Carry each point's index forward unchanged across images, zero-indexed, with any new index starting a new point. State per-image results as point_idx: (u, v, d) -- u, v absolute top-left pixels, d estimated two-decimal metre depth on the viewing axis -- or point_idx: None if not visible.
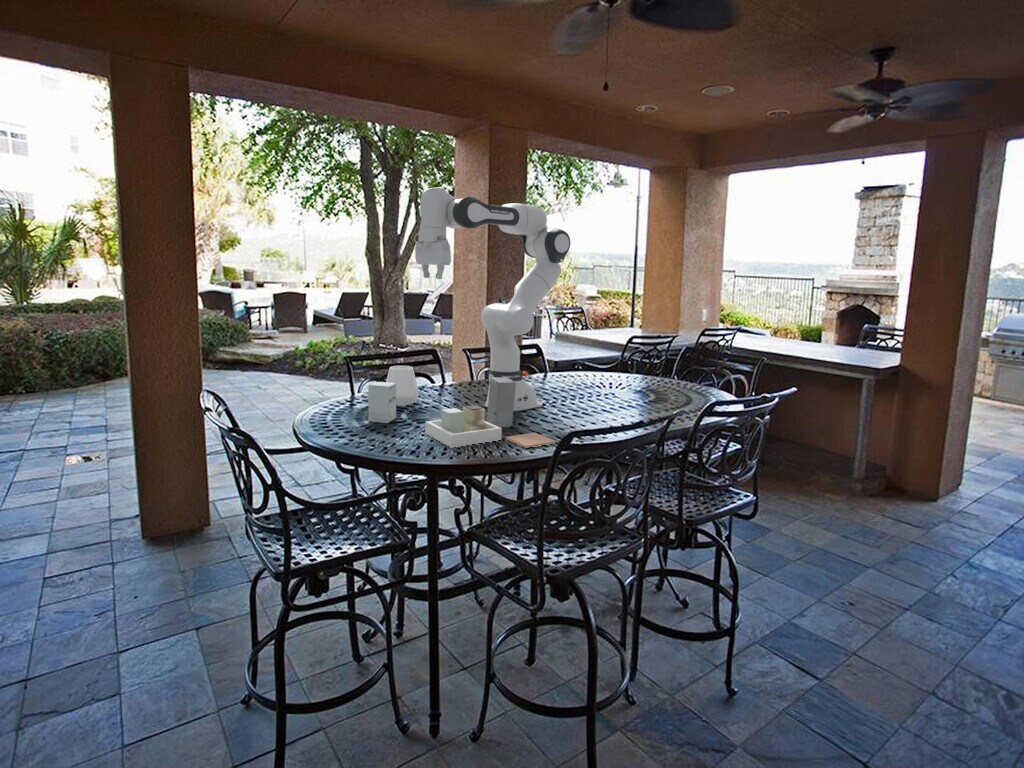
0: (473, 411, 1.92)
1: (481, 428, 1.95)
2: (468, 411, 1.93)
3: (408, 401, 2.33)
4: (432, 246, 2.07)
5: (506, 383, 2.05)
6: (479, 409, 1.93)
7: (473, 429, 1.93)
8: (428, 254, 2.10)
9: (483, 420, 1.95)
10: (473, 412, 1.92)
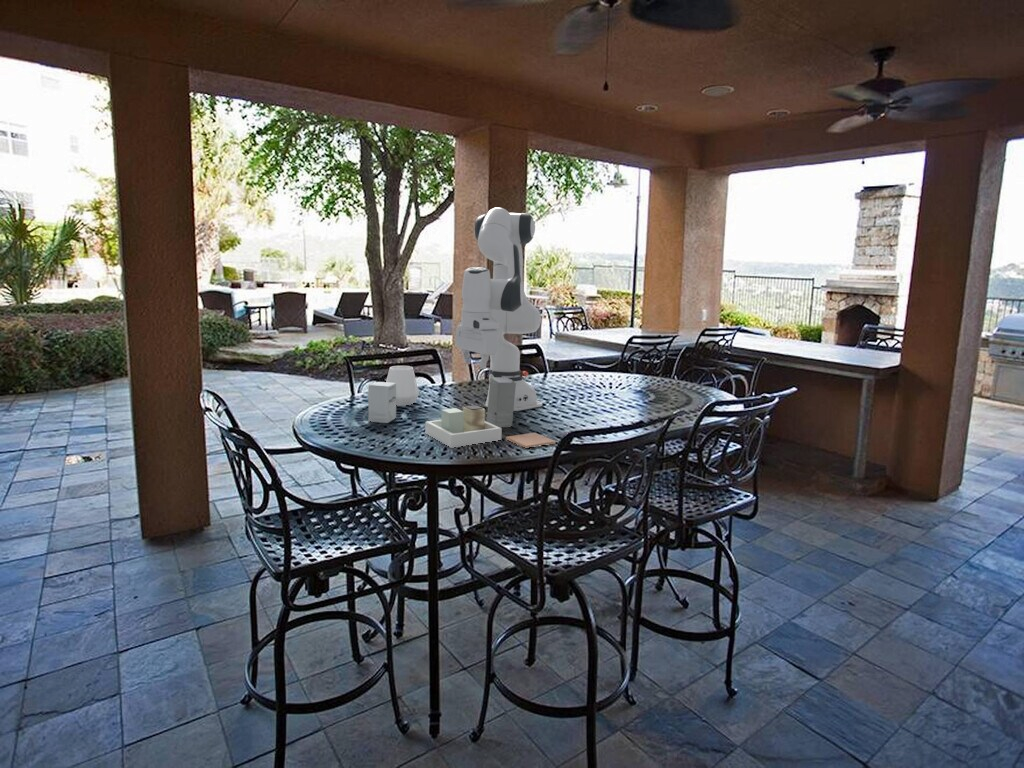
0: (473, 411, 1.92)
1: (481, 428, 1.95)
2: (468, 411, 1.93)
3: (408, 401, 2.33)
4: None
5: (506, 383, 2.05)
6: (479, 409, 1.93)
7: (473, 429, 1.93)
8: None
9: (483, 420, 1.95)
10: (473, 412, 1.92)
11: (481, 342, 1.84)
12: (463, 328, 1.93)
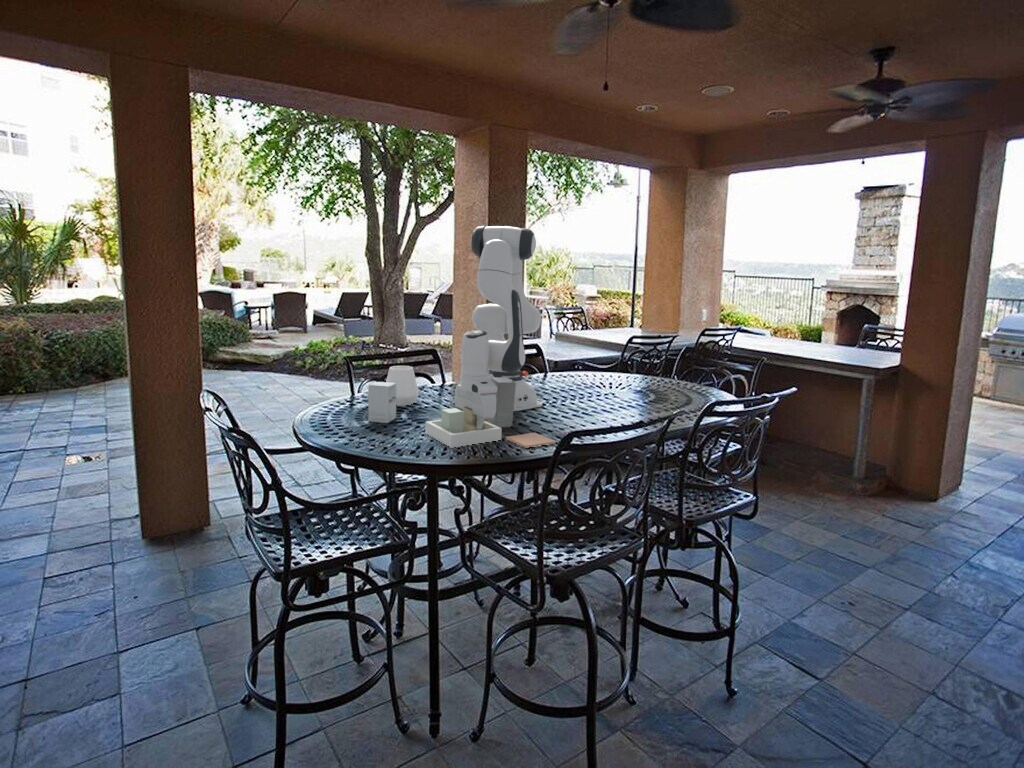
0: None
1: None
2: (468, 411, 1.93)
3: (408, 401, 2.33)
4: None
5: (506, 383, 2.05)
6: None
7: (473, 429, 1.93)
8: None
9: None
10: None
11: (480, 405, 1.88)
12: None
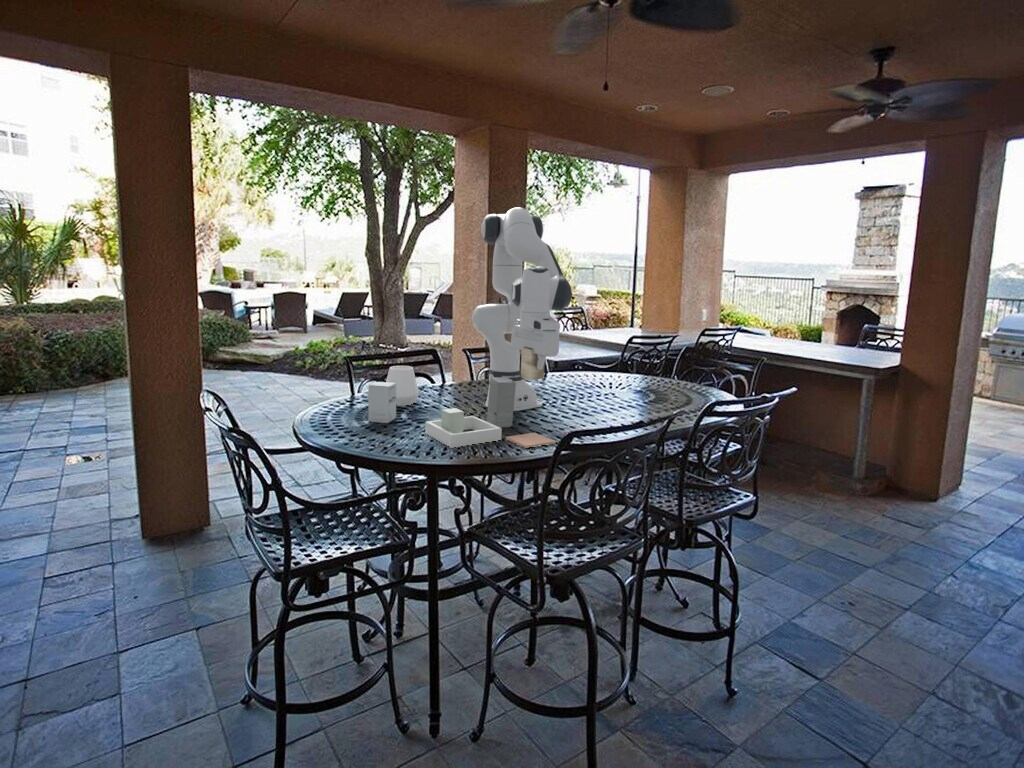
0: None
1: None
2: (528, 350, 1.84)
3: (408, 401, 2.33)
4: None
5: (506, 383, 2.05)
6: None
7: (533, 369, 1.85)
8: None
9: None
10: None
11: (542, 343, 1.79)
12: (521, 328, 1.88)
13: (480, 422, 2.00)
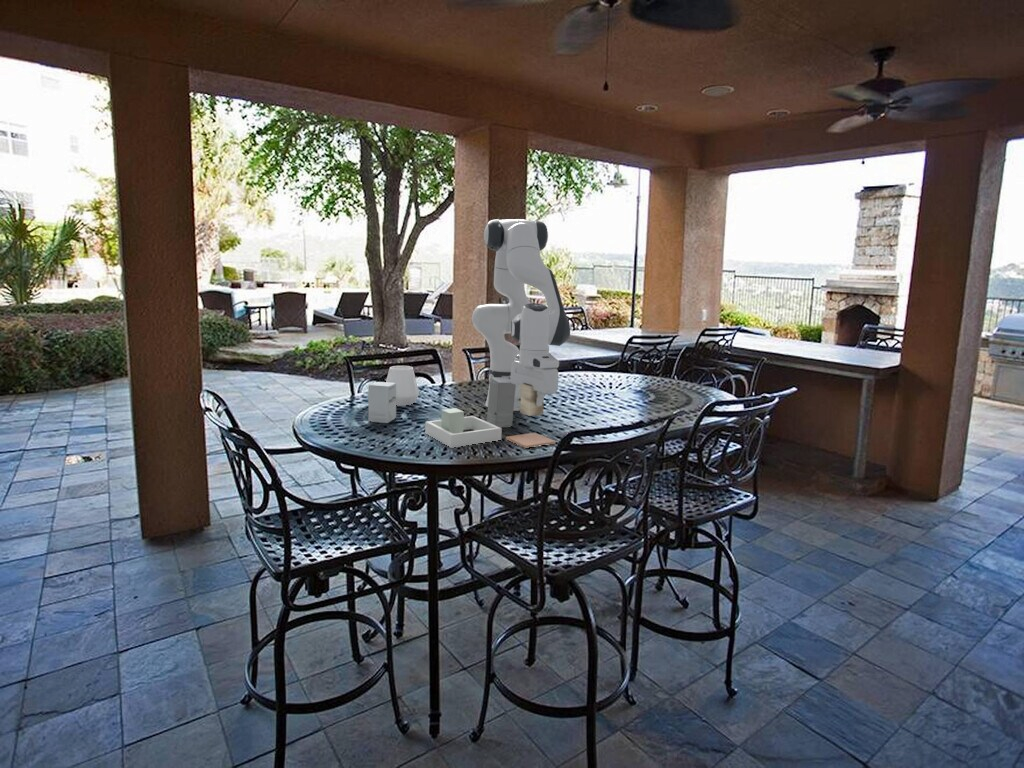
0: None
1: None
2: (527, 387, 1.86)
3: (408, 401, 2.33)
4: None
5: (506, 383, 2.05)
6: None
7: (532, 406, 1.86)
8: None
9: None
10: None
11: (541, 381, 1.81)
12: (520, 364, 1.90)
13: (480, 422, 2.00)
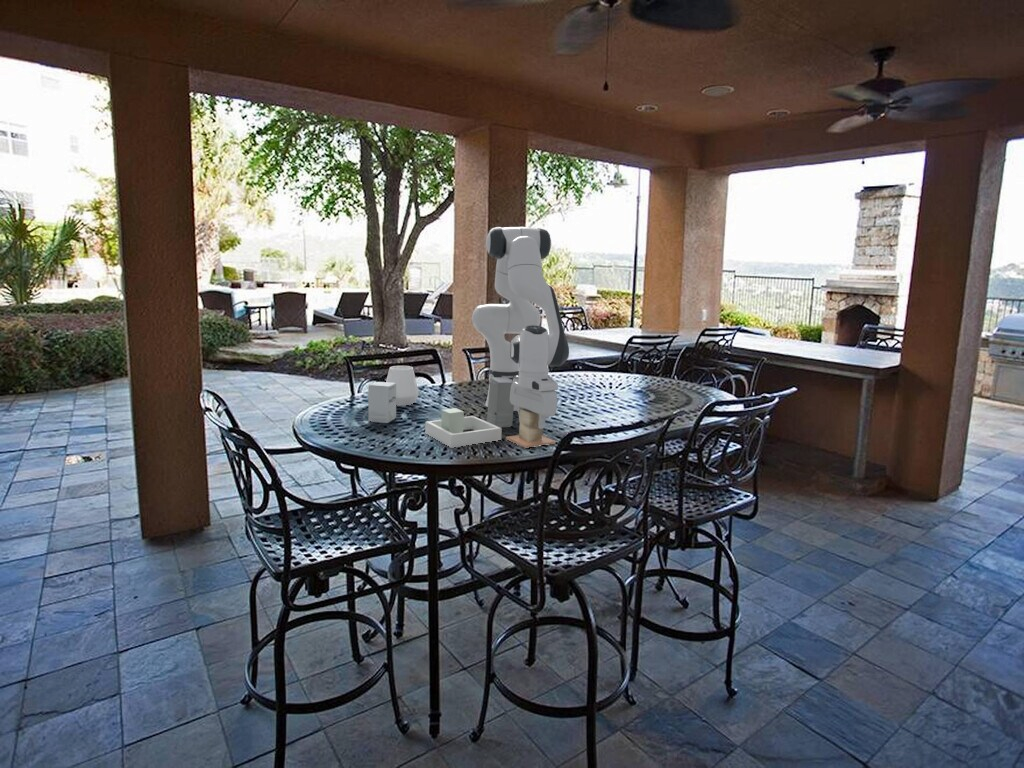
0: (532, 413, 1.87)
1: (538, 431, 1.90)
2: (526, 413, 1.88)
3: (408, 401, 2.33)
4: None
5: (506, 383, 2.05)
6: None
7: (531, 432, 1.88)
8: None
9: None
10: (532, 414, 1.87)
11: (540, 403, 1.83)
12: (519, 386, 1.91)
13: (480, 422, 2.00)
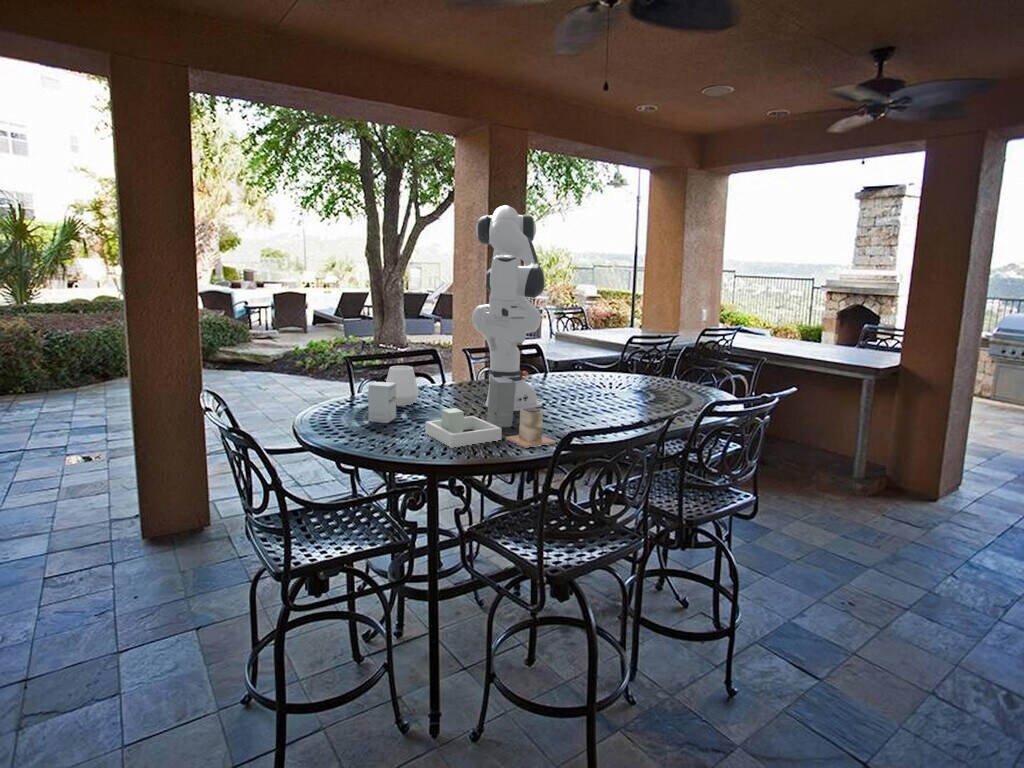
0: (532, 413, 1.87)
1: (538, 431, 1.90)
2: (526, 413, 1.88)
3: (408, 401, 2.33)
4: None
5: (506, 383, 2.05)
6: (537, 411, 1.88)
7: (531, 432, 1.88)
8: None
9: (541, 423, 1.90)
10: (532, 414, 1.87)
11: (509, 330, 1.86)
12: (490, 315, 1.94)
13: (480, 422, 2.00)
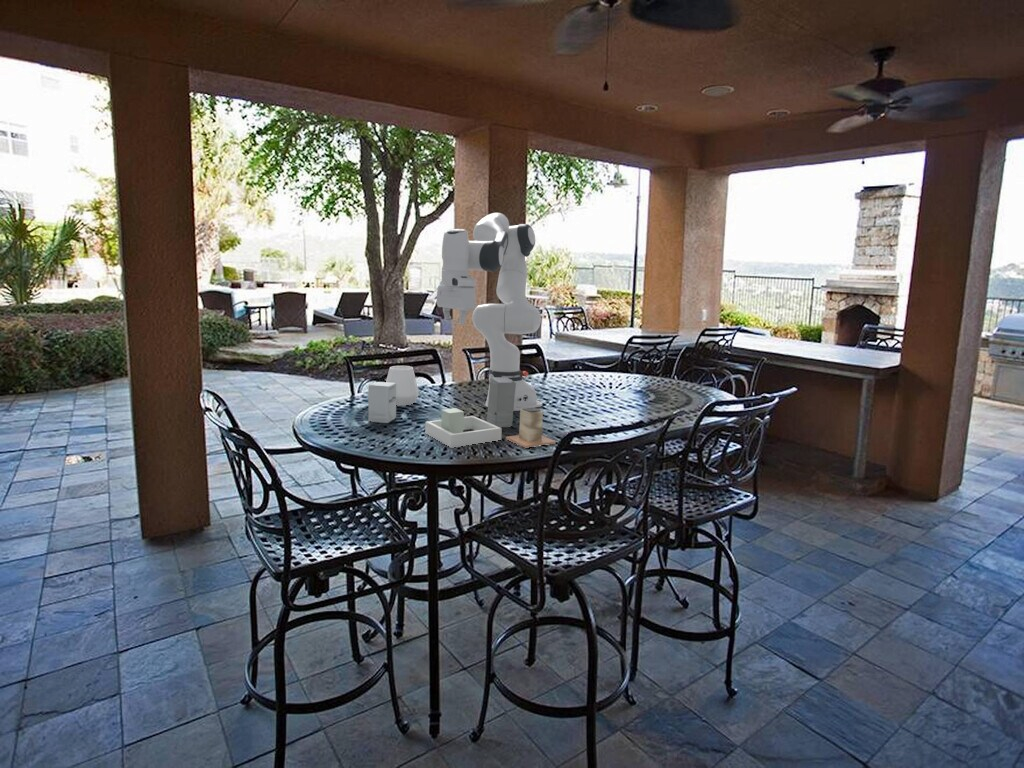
0: (532, 413, 1.87)
1: (538, 431, 1.90)
2: (526, 413, 1.88)
3: (408, 401, 2.33)
4: None
5: (506, 383, 2.05)
6: (537, 411, 1.88)
7: (531, 432, 1.88)
8: None
9: (541, 423, 1.90)
10: (532, 414, 1.87)
11: (459, 299, 1.96)
12: (444, 287, 2.04)
13: (480, 422, 2.00)
